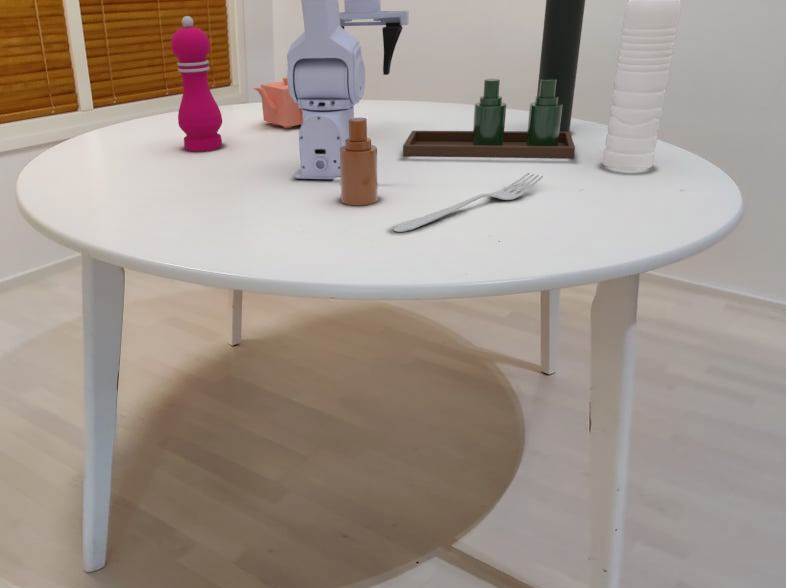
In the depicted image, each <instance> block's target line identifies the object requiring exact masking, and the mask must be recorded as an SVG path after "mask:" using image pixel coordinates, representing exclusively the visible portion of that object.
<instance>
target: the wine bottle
mask: <svg viewBox="0 0 786 588" xmlns="http://www.w3.org/2000/svg"><path fill="white" fill-rule="evenodd" d="M585 5H586V0H545V8H544V19H543V29H542V30H543V31H542V40H541V41H542V42H541V49H540V51H541V52H540V61H539V71H538V80H537V81H538V82H537V90H536V91H537V92H536V96H539V93H540V83H541V79H544V78H554V79H556V80H557V81H556V90H555V96H558V102H559V103H562V104H563V105H562V114H561V122H560V131H559V132H570V130H571V122H572V113H573V105H574V96H575V88H576V79H577V71H578V65H579V64H578V63H579V56H580V55H579V54H580V48H581V47H580V46H581V39H582V30H583V23H584V22H583V21H584V14H585Z"/></svg>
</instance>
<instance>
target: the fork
mask: <svg viewBox="0 0 786 588" xmlns="http://www.w3.org/2000/svg"><path fill="white" fill-rule="evenodd" d="M534 175H535V174H534V173H531V174H530V172H527V173H526V174H524V175H523V176H521V177H519V178H518V179H517V180H515V181H513V182H512V183H510V184H509V185H508V186H506V187H504V188H502V189H500V190H498V191H496V192H493V193H491V194H490V193H481V194H478V195H476V196H473V197H470V198H468V199H466V200H464V201H461V202H458V203H456V204H454V205H451V206H448V207H444V208H443V209H440V210H437V211H435V212H432V213H429V214H426V215H423V216H420V217H416V218H414V219H412V220H408V221H405V222H402V223H400V224H398V225H396V226H395V227H394V228H393V231H394V232H398V233H404V232H407V231H412V230H415V229H417V228H420V227H422V226H424V225H427V224H429V223H431V222H434V221H436V220H438V219H441V218H443V217H445V216H447V215H449V214H451V213H453V212H456V211H457V210H459V209H461V208H463V207H465V206H467V205H469V204H472V203H473V202H475V201H477V200H481V199H482V198H487V197H488V198H489V197H490V198H495V199H499V200H504V201H512V200H515V199H517V198H519V197H521V196H523V194H525V193H526V192H528V191H529V190H530V189H531V188H532V187H534V186H535V185H536V184H537V183H538V182H540V181H541V180H542V179H543V178H544V175H541V176H540V177H539V174H536V175H535V176H534ZM531 178H532V179H531Z"/></svg>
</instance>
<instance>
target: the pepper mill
mask: <svg viewBox="0 0 786 588" xmlns="http://www.w3.org/2000/svg"><path fill="white" fill-rule="evenodd" d="M181 24H182V26H183V27H181V28H179V29H177V30H176V31H175V32H174V33H173V34H172V36H171V39H170V46H171V47H170V48H171V51H172V54H173V55H174V56H175V57H176V58H177V59H178V61H177V62H176V65H177V71H178V72H179V73H180V76H181V80H182V88H183V89H182V96H181V101H180V104H179V109H178V112H177V113H178V114H177V123H178V127H179V128H180V130H181V131H182V132H183V133H184V134H185V135H186V136H185V137H184V138H183V144H184V149H185V150H186V151H189V152H210V151H214V150H215V151H216V150H219V149H220V148H222V147H223V140H222V135H221V133H218V132H219V130H220V129H221V127H222V125H223V116H222V112H221V110H220V107H219V105H218V103H217V101H216V100H215V98H214V96H213V93H212V92H211V91H212V90H211V88H210V85H209V81H208V71H209V70H210V66H209V62H210V61H209V60H208V59H207V56H208V54H209V53H210V50H211V44H210V43H211V42H210V39H209V37H208V35H207V33H206V32H205V31H203V30H202V29H200V28H198V27H195V26H194V20H193V18H192V17H191V16H189V15H185V16H183V17H182V19H181Z"/></svg>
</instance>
